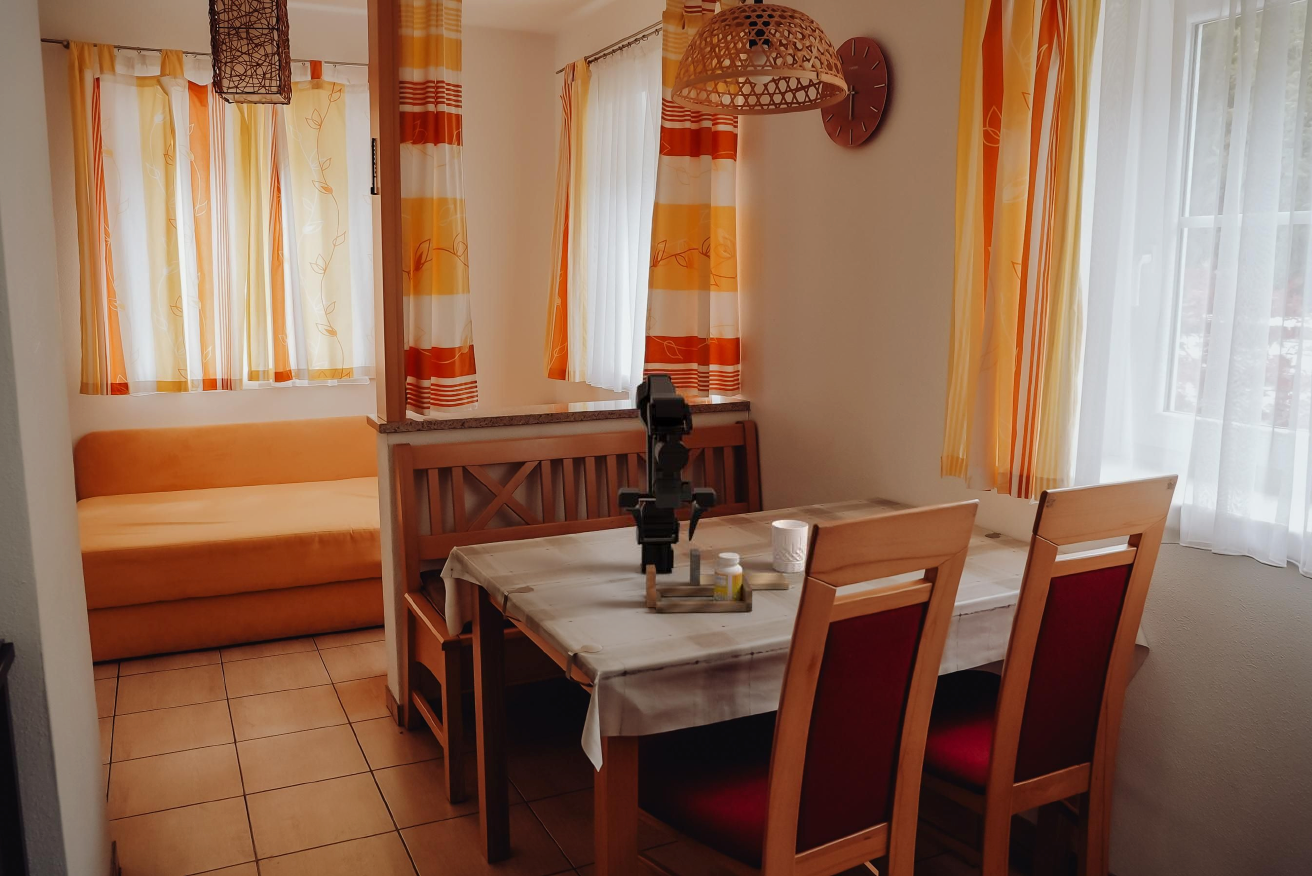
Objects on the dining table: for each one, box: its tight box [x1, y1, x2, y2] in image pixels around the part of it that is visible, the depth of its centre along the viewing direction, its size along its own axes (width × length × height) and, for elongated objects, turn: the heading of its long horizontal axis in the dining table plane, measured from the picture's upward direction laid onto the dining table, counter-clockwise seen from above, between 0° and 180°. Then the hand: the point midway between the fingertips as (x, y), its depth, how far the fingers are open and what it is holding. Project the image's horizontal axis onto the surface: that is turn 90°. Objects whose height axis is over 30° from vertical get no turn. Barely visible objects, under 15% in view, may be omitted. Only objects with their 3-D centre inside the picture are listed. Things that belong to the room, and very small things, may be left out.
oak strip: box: [689, 548, 790, 590], centre depth 201 cm, size 20×7×7 cm, turn 94°
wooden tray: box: [645, 565, 754, 613], centre depth 189 cm, size 20×11×7 cm, turn 94°
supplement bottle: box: [713, 552, 743, 601], centre depth 189 cm, size 5×5×10 cm
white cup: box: [771, 519, 809, 574], centre depth 213 cm, size 8×8×10 cm
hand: (666, 540), depth 190 cm, fingers open, 9 cm apart
